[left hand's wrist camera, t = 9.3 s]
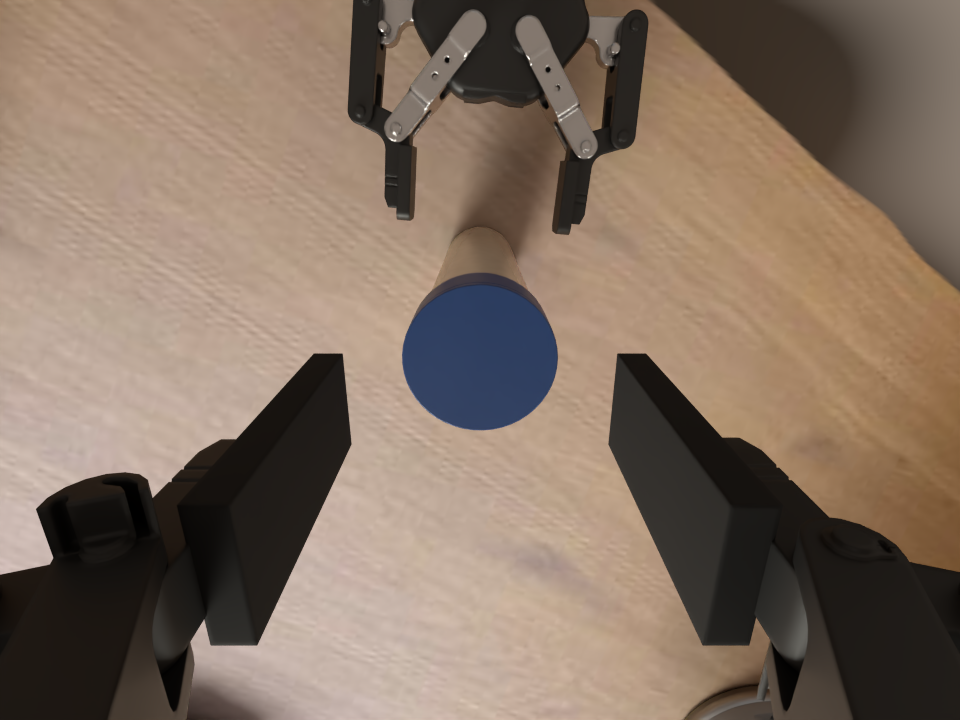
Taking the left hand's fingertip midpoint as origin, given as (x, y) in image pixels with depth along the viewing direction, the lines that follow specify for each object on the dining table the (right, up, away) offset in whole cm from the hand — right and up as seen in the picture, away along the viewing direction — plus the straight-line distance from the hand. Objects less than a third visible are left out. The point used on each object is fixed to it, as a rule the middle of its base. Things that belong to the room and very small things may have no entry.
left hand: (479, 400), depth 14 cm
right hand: (0, +9, +14) cm, 17 cm away
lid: (0, +1, +3) cm, 3 cm away
